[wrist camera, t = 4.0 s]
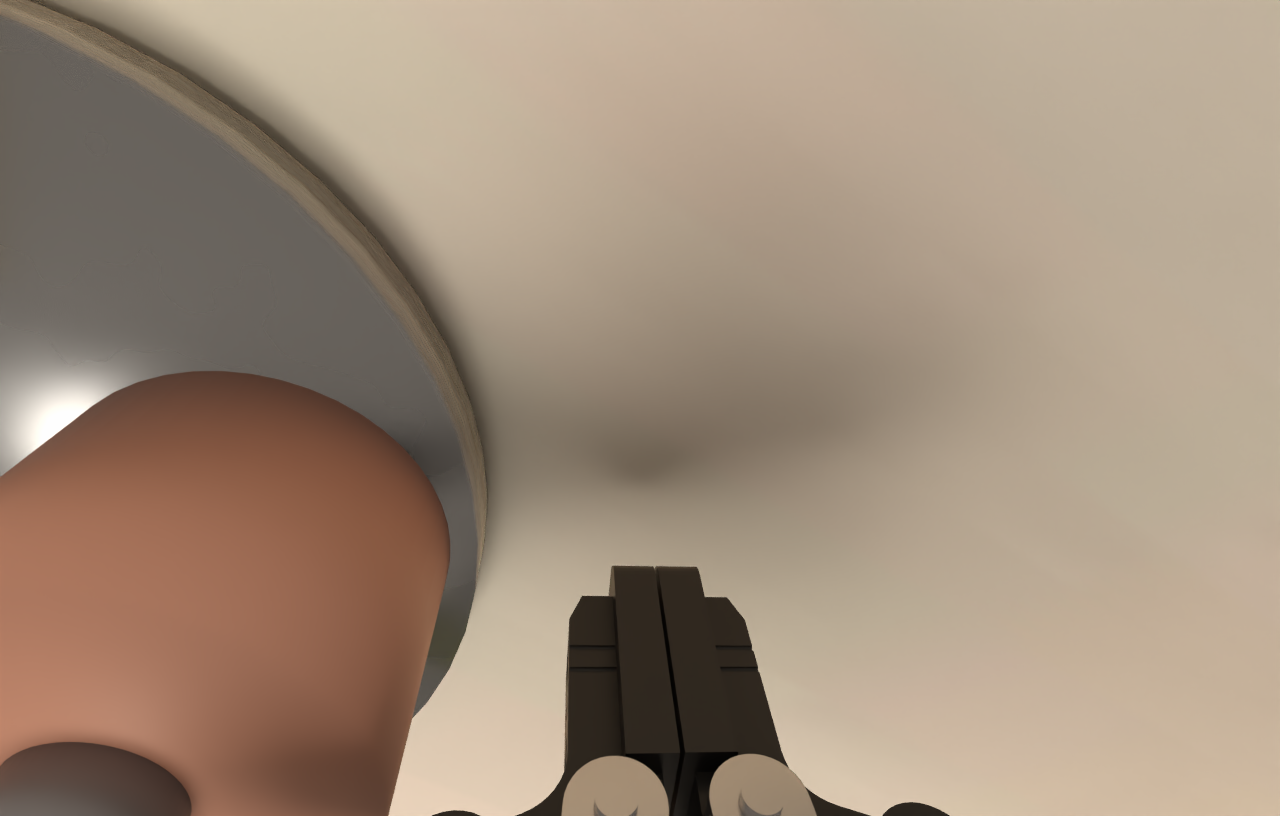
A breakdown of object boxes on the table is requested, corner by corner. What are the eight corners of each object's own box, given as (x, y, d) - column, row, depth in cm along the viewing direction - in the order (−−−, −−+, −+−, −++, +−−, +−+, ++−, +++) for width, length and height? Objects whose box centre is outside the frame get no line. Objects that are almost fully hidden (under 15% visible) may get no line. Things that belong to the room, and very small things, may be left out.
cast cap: (442, 380, 12) (328, 668, 6) (457, 669, 15) (390, 1015, 10) (-12, 360, 11) (-562, 666, 6) (110, 669, 14) (-165, 1043, 9)
